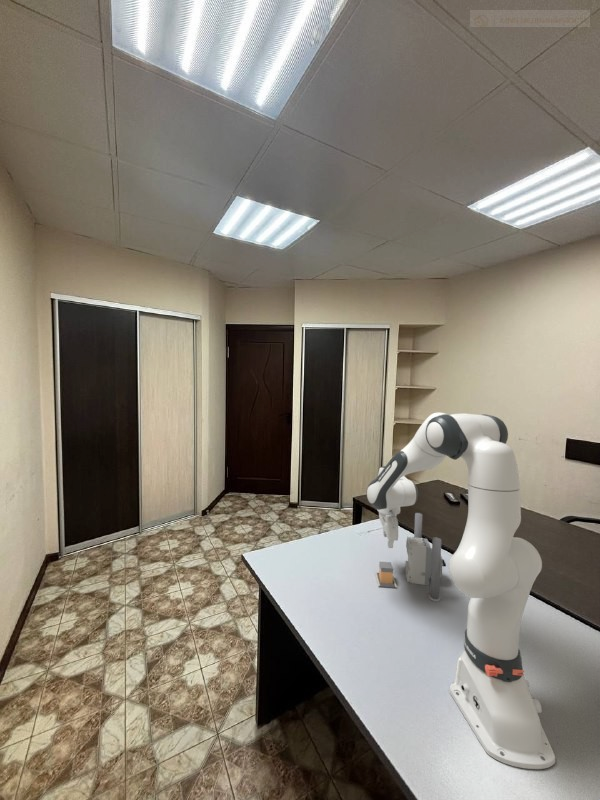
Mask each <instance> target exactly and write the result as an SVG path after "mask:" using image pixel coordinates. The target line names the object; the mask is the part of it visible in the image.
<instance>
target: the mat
mask: <svg viewBox="0 0 600 800" xmlns="http://www.w3.org/2000/svg"><path fill="white" fill-rule="evenodd" d="M374 575H375V580H376V583H377V586H378V588H381V589H382V588H386V589H396V590H397V589H398V586H397V584H396V583H397V582H396V580H395V578H394V576H393V584H390V583H381V582H380V578H379V572H374Z"/></svg>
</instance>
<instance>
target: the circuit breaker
mask: <svg viewBox="0 0 600 800" xmlns="http://www.w3.org/2000/svg"><path fill="white" fill-rule="evenodd" d="M405 543H406V544H405V545H406V546H405V547H406V553H407V560H405V561H404V562H405V564H404V565H405V567H404V568H405V569H404V570H405V571H404V572H405V573H404V574H405V578H406V582H407V583H411V584H416V585H422V586H423V585H425V586H430V580H431V562H432V546H431V545H430V542H429V540H428V538H423V537H422V538H415V537H414V536H406V542H405ZM443 567H447V565H446V561H445V559H443V557H442V555H441V562H440V579H441V578H443Z"/></svg>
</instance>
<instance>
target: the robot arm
mask: <svg viewBox="0 0 600 800" xmlns="http://www.w3.org/2000/svg"><path fill="white" fill-rule="evenodd" d="M508 439H509V432H508V427H507V425H506V423H504V421H503V420H502V419H500V418H499V417H497V416H494V415H490V414H487V413H486V414H485V413H484V414H476V413H466V412H465V413H452V414H448V413H445V412H434V413H431V414H430V415H429V416H428V417H426V419H424V421H423V422H422V424H421V425H420V426H419V428H418V429H417V430H416V432H415V434H414V436H413V437H412V439H410V441H409V442H408V443H407V444H406V445H405V446H404V447H403V448H401V450H399V451H398V452H396V454H394V455H393V456H392V458H390V460H389V461H387V462H388V463H387V464H385V465H382V466H380V468H379V469H378V472H377V473H378V474H377V477H376V478H375V479H373V480H372V481H371V482H370V483H369V485H368V486H367V488H366V499H367V502H368V503H369V504H370V505H371V506H372V507H373V508H374V509H376V510H377V512H378V516H379V521H380V524H381V526H382V530H383V531H382V532H383V533H382V534H383V538H387V547H388V549H393V548H394V543H395V541H398V540H399V521H398V518H397V517H398V516H397V515H399V514H401V507H410V506H414V505H415V504H416V503H417V501H418V497H419V490H418V487H417V485H416V484H415V482H414V481H413V480H411V479H408V478H407V477H406V476H407V475H410V474H413V473H416V472H422V471H427V470H432V469H434V468H436V467H438V466H439V465H440V464H442V463H443V461H444V460H445V459H446V457H448V458H450V459H452V460H453V461H454V460H458V459H460V458H462V459H463V461H464V462H465V464H466V466H467V488H468V489H467V493H468V495H467V496H468V499H467V500H468V501H467V502H468V503H467V504H468V505H467V506H468V508H467V509H468V511H467V512H468V513H467V519H466V524H465V528H464V530H463V535H462V538H461V540H460V543H459V545H458V548H457V549H456V551H455V552H454V553H453V554H452V555H451V557H450V559H449V562H448V571H449V576H450V578H451V580H452V582H453V584H454V585H455V587H456V588H457V589H458V590H459V591H460V592H461V594H464V596H467V597H468V598H470V599H469V601H468V605H467V617H466V618H467V619H466V620H467V622H466V629H465V630H464V631H465V632H464V635H463V648H464V650H463V652H462V653H461V655H460V656H459V657H458V658H457V664H456V672H455V677H454V682H452V683H451V684H450V686H449V694H450V696H451V697H452V698H453V700H454V701H455V704H456V705H457V707H458V708H459V710H460V711H461V713H462V715H463V716H464V718H465V720H466V722H467V723H468V725H469V726H470V728H471V730H472V732H473V733H474V735H475V737H476V738H477V740H478V741H479V743H480V745H481V747H482V748H483V749H484V751H485V752H486V754H488V755H489V756H490V757H492V758H493V759H495V760H497V761H499V762H500V763H504V764H505V765H509V766H512V767H516V768H522V769H529V770H542V769H548V768H550V767H552V766H553V765H555V764H556V755H555V752H554V750H553V748H552V746H551V744H550V741H549V739H548V737H547V735H546V732H545V730H544V728H543V726H542V723H541V719H540V716H539V714H542V709H543V708H542V705H541V703H540V700H538V699H534V698H533V697H532V694H531V692H530V689H529V688H530V682H529V680H528V679H526V678H525V674H524V673H525V670H524V668H523V660H522V654H521V651H520V646H519V645H520V633H521V622H522V618H523V614H524V611H525V608H526V605H527V602H528V599H529V596H530V593H531V590H532V587H533V584H534V582H535V581H536V579H537V577H538V576H539V574H540V573H541V571H542V568H543V561H542V558H541V555H540V553H539V551H538V549H537V548H535V546H534V545H533V544H532V543H530V542H529V541H528V540H526V539H524V538H522V537H517V536H516V537H514V536H515V533H516V531H517V530H518V528H519V527H520V524H521V521H522V515H521V513H522V509H521V507H522V506H521V486H520V474H519V473H520V472H519V469H518V464H517V458H516V455H515V453H514V450H513V448H512V447H510V445H508V444H507V441H508Z"/></svg>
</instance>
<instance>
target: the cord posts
mask: <svg viewBox="0 0 600 800" xmlns="http://www.w3.org/2000/svg"><path fill="white" fill-rule="evenodd" d="M422 530H423V514H422V513H421V512H415V513H414V530H413V531H414V532H413V533H414V534H413V537H415V538H423V537H422V536H423V535H422V533H423V531H422ZM431 541H432V543H431V545H432V546H431V548H432V562H431V576H430V583H429V586H430V588H429V589H430V590H429V593H428V599H429V600H430V601H433V602H436V603H438V602H440V601H441V596H440V582H441V581H440V580H441V578H440V562H441V556H442V539H441V538H440V537H436V536H435V537H432V540H431Z"/></svg>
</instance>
